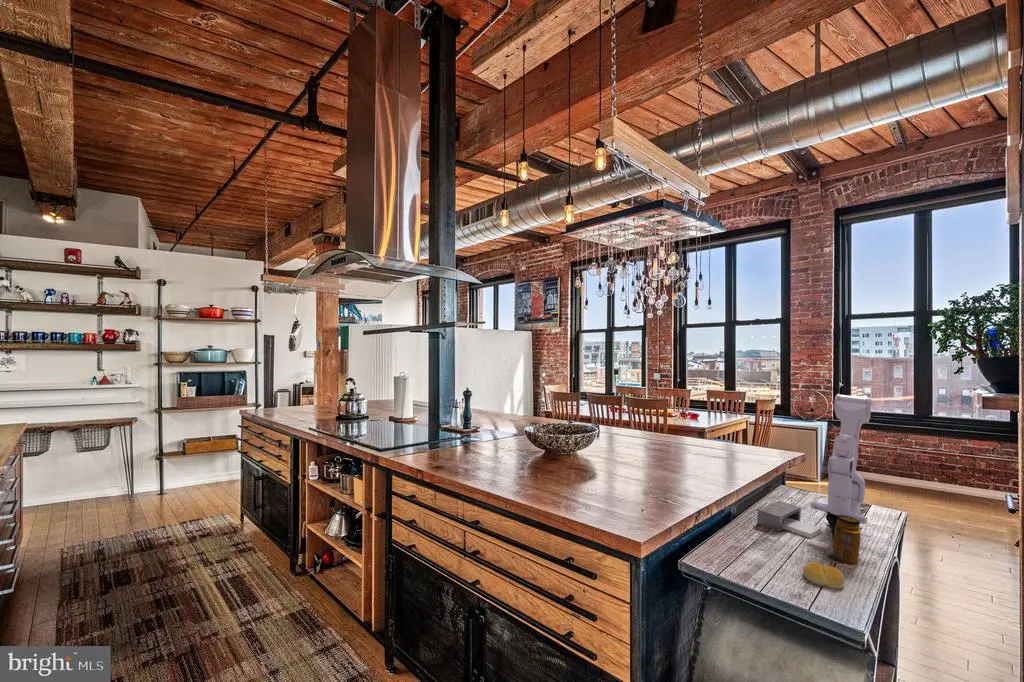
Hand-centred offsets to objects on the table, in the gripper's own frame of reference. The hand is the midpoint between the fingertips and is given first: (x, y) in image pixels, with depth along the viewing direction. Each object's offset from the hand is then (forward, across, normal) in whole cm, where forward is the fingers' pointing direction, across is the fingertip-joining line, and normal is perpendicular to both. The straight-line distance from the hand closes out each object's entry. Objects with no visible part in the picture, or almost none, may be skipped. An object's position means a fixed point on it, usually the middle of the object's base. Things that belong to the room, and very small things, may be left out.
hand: (836, 538), depth 148 cm
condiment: (+1, +6, -12) cm, 13 cm away
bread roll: (+2, +7, -30) cm, 31 cm away
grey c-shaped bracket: (+1, -17, 0) cm, 17 cm away
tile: (+2, -12, 0) cm, 12 cm away
